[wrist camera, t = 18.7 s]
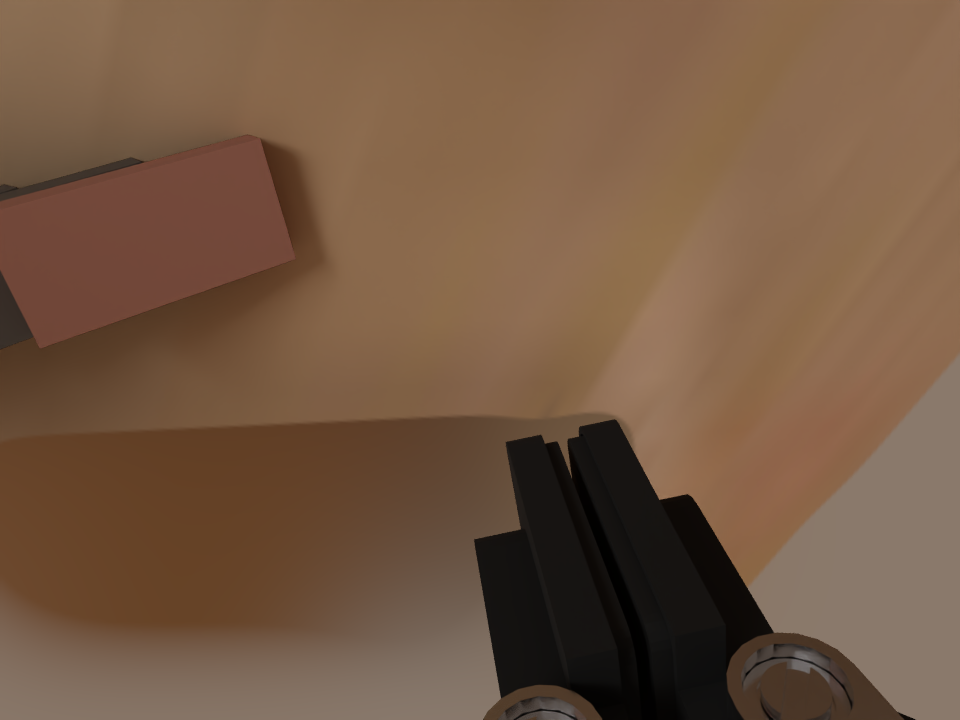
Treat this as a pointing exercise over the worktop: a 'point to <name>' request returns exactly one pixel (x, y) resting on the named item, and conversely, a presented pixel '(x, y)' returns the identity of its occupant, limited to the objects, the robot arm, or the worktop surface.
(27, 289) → the domino
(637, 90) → the worktop surface
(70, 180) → the domino
